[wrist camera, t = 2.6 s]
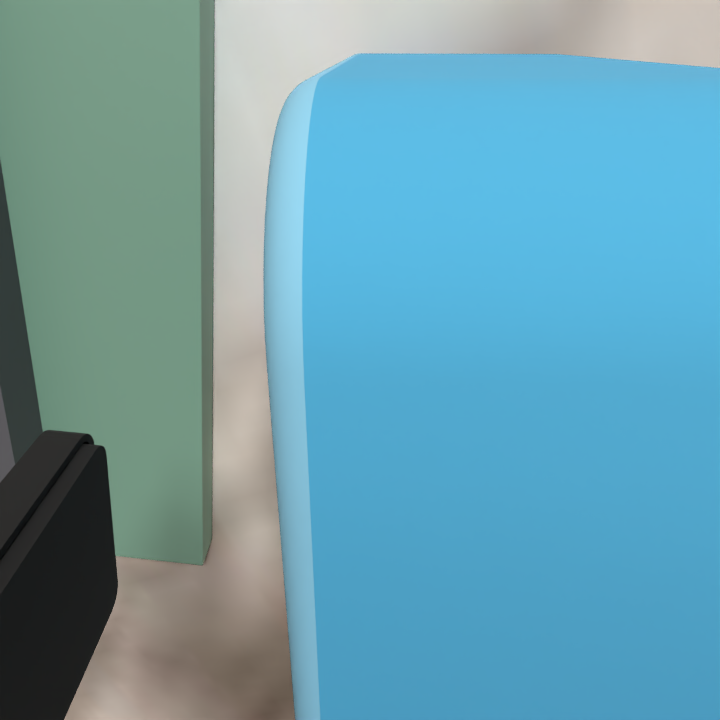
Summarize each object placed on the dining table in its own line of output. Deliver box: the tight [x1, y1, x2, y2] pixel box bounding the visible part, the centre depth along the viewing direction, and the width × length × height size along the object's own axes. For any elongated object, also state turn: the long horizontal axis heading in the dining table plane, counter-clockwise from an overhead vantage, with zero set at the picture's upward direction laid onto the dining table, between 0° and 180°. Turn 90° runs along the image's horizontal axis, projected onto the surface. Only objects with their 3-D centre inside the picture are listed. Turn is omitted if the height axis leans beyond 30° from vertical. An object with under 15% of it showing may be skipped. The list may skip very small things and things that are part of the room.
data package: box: [264, 54, 720, 720], centre depth 11 cm, size 12×4×12 cm, turn 0°
